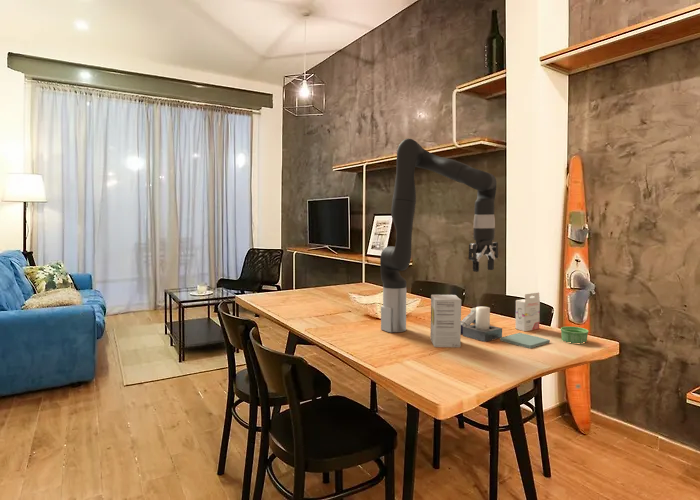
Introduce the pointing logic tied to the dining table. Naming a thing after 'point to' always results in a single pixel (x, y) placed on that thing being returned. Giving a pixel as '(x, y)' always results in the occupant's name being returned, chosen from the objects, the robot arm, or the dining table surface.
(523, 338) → the mat
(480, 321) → the end plug
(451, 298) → the supplement box
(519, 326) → the ink cartridge box
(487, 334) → the socket block
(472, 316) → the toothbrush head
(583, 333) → the ramekin
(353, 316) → the dining table surface
